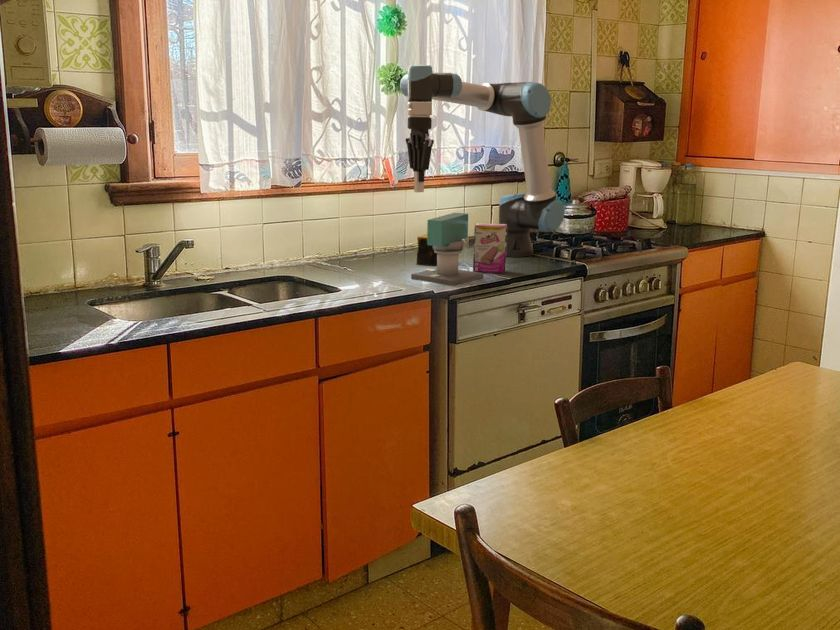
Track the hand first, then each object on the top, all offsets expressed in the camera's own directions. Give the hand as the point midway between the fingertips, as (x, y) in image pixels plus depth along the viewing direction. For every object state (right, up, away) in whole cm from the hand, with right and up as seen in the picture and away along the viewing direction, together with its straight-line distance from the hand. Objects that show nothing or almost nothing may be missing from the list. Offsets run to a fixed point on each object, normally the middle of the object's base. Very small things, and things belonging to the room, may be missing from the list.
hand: (418, 192), depth 270 cm
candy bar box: (+24, -25, +20) cm, 40 cm away
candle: (+6, -21, +34) cm, 41 cm away
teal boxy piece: (+9, -18, +6) cm, 21 cm away
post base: (+9, -27, +9) cm, 30 cm away
